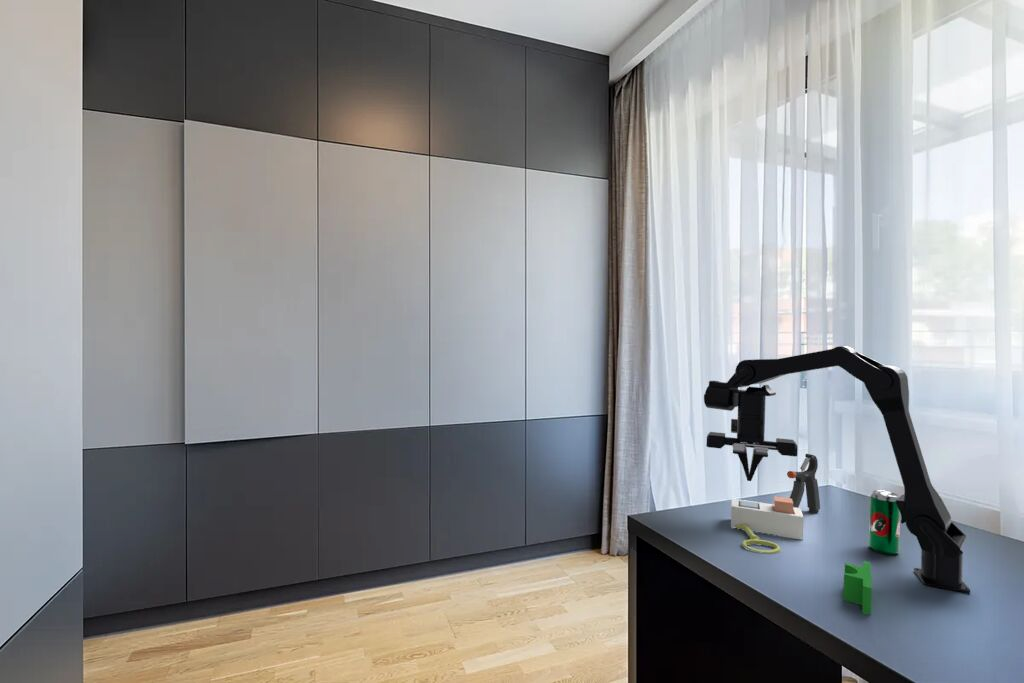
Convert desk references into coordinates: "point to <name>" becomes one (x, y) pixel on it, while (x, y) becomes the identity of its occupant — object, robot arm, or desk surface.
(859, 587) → the pipe clamp
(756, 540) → the key
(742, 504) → the grey button
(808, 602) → the desk surface
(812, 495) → the hand grip strengthener
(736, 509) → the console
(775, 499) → the orange button
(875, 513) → the soda can
